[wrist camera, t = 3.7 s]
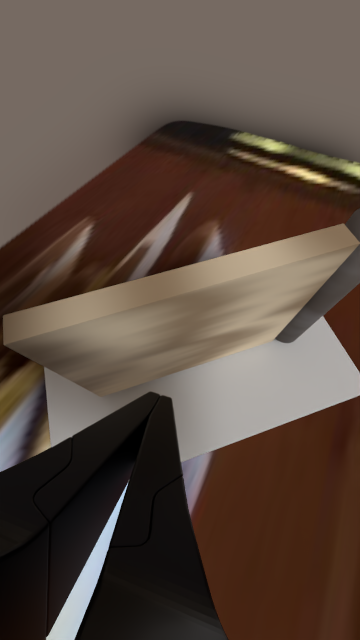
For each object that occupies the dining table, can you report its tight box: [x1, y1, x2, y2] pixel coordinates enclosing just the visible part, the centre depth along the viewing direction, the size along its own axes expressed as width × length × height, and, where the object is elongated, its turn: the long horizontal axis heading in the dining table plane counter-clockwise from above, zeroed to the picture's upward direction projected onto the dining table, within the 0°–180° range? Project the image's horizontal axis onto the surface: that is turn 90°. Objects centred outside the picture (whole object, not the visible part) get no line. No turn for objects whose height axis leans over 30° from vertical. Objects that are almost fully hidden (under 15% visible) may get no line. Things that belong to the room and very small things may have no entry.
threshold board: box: [44, 316, 360, 482], centre depth 17 cm, size 20×11×1 cm, turn 108°
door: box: [3, 208, 360, 397], centre depth 13 cm, size 14×4×10 cm, turn 108°
